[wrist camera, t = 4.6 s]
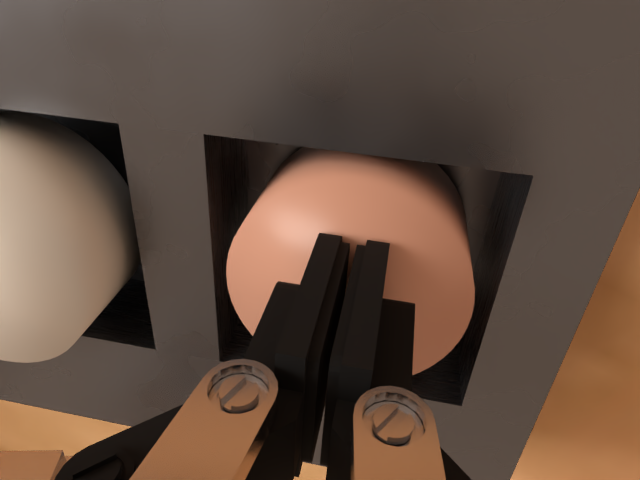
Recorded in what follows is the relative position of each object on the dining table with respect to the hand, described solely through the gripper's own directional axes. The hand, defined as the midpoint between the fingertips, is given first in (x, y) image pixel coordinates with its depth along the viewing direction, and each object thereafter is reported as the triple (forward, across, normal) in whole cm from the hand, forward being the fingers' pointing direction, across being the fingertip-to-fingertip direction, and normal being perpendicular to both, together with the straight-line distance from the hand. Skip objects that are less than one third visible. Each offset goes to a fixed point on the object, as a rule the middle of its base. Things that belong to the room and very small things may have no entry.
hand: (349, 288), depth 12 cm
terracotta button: (+3, 0, 0) cm, 3 cm away
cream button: (+2, +9, 0) cm, 9 cm away
